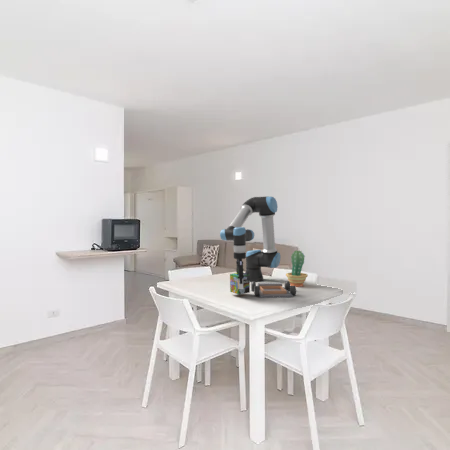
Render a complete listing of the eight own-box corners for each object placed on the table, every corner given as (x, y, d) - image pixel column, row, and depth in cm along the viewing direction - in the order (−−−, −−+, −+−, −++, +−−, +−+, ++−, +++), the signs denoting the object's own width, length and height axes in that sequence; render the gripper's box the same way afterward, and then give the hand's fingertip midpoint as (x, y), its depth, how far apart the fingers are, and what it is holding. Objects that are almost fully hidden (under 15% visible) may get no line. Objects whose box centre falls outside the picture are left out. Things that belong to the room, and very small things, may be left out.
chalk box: (241, 289, 205) (240, 266, 205) (250, 292, 198) (250, 268, 197) (229, 291, 200) (229, 268, 199) (238, 294, 192) (238, 270, 192)
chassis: (250, 288, 217) (250, 280, 217) (287, 288, 218) (287, 279, 218) (256, 297, 193) (256, 287, 193) (297, 297, 194) (297, 287, 194)
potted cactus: (312, 286, 224) (312, 251, 223) (292, 288, 219) (292, 252, 219) (300, 282, 239) (300, 249, 238) (281, 283, 234) (282, 249, 233)
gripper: (232, 249, 210) (232, 282, 211) (235, 254, 186) (235, 291, 186) (243, 249, 210) (243, 282, 211) (248, 254, 186) (248, 291, 187)
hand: (239, 286), depth 199 cm, fingers closed on chalk box, 12 cm apart
